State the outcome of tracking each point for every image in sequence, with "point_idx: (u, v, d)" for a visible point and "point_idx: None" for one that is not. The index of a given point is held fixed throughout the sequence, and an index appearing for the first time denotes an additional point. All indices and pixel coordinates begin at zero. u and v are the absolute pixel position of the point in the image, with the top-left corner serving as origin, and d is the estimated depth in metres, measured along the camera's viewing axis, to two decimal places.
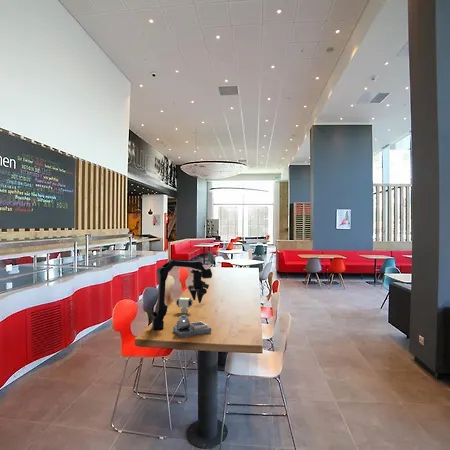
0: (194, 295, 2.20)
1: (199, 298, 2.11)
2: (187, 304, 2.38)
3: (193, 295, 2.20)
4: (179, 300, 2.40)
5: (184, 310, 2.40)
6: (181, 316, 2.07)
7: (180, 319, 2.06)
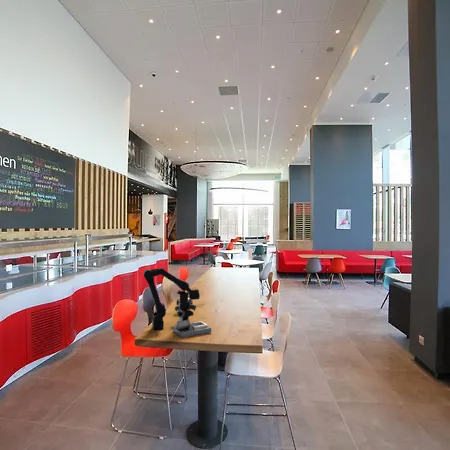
0: None
1: None
2: None
3: None
4: (179, 300, 2.40)
5: None
6: (181, 316, 2.07)
7: (180, 319, 2.06)
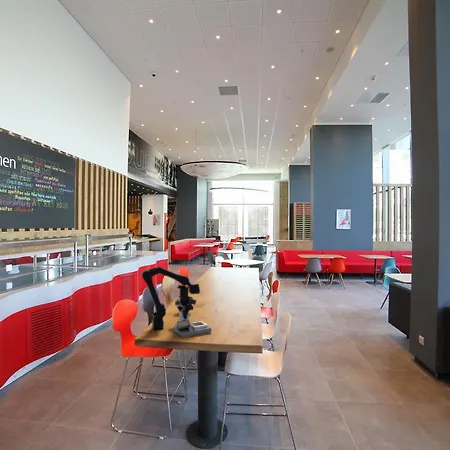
0: None
1: (184, 314, 2.04)
2: (187, 304, 2.38)
3: None
4: None
5: None
6: (181, 310, 2.07)
7: (180, 313, 2.06)
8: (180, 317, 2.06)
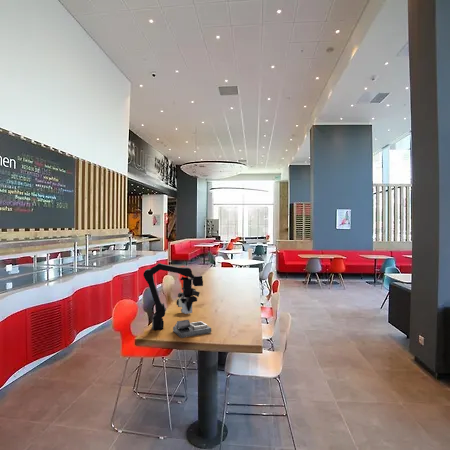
0: None
1: (188, 306, 2.02)
2: None
3: None
4: (179, 300, 2.40)
5: None
6: None
7: (184, 305, 2.04)
8: (183, 309, 2.04)
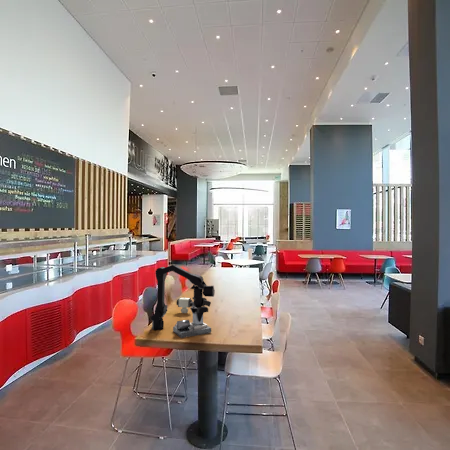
0: None
1: (199, 316, 1.94)
2: (187, 304, 2.38)
3: None
4: (179, 300, 2.40)
5: (184, 310, 2.40)
6: (195, 312, 1.97)
7: (194, 315, 1.96)
8: (194, 319, 1.96)
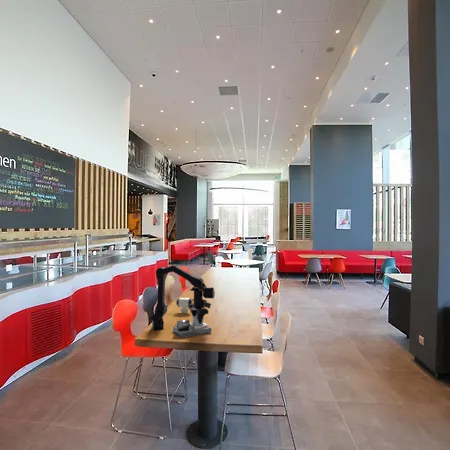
0: None
1: (199, 319, 1.93)
2: (187, 304, 2.38)
3: None
4: (179, 300, 2.40)
5: (184, 310, 2.40)
6: (195, 316, 1.97)
7: (194, 319, 1.96)
8: (194, 323, 1.96)
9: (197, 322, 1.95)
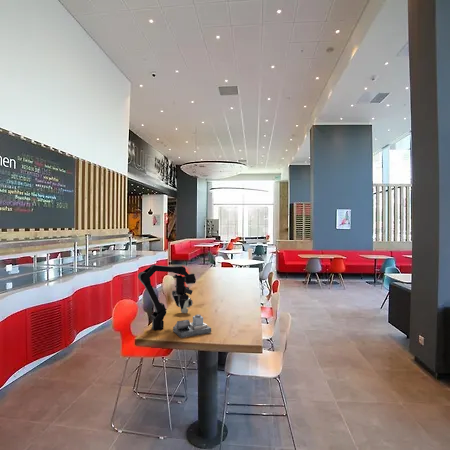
0: (177, 301, 2.14)
1: (181, 304, 2.04)
2: (187, 304, 2.38)
3: (177, 300, 2.14)
4: None
5: (184, 310, 2.40)
6: (195, 316, 1.97)
7: (194, 319, 1.96)
8: (194, 323, 1.96)
9: (197, 322, 1.95)
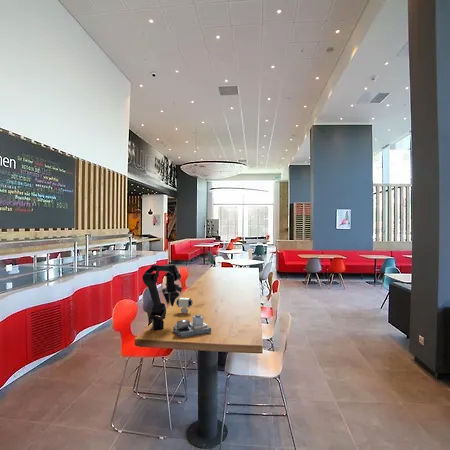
0: (168, 298, 2.21)
1: (171, 301, 2.11)
2: (187, 304, 2.38)
3: (167, 298, 2.21)
4: (179, 300, 2.40)
5: (184, 310, 2.40)
6: (195, 316, 1.97)
7: (194, 319, 1.96)
8: (194, 323, 1.96)
9: (197, 322, 1.95)
